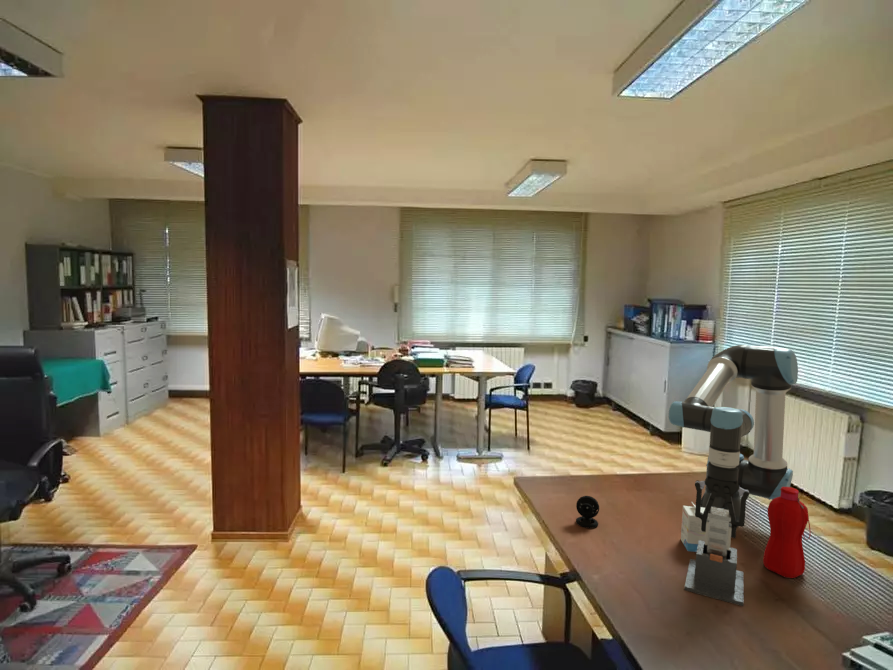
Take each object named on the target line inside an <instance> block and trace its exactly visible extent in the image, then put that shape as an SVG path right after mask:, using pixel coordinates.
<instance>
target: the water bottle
mask: <svg viewBox="0 0 893 670" xmlns="http://www.w3.org/2000/svg"><path fill="white" fill-rule="evenodd" d="M779 490H781V496H780V497H777V498H775V499H773V500H771V501H770V502H769V504H768V506H767V517H768V523H769V529H770V534H769V537H768V541H767V543H766V545H765V547H764V550H763V551H764V553H763V559H762V562H763V566H764V567H765V568H766V569H767V570H769V571H771V572H773V573H775V574H777V575H779V576H782V577H784V578H789V579H794V578H798V577H799V576H803V574H804V572H805V569H806V559H805V552H804V547H803V538H804V540H806V541H807V540H809V539H810V538H811V534H812V533H811V532H812V531H811V523H810V520H809V519H810V516H809V511H808V510H809V509H808V507H807V506H806V504H804V503H803V502H802V501H801V500H800V497H799V493H800V492H799V490H798V489H797V488H794V487H791V486H790V487H781V489H779ZM807 526H808V529H809V535H808V536H809V537H808V538H806V536H805V530H806V527H807Z"/></svg>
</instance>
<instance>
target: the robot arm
mask: <svg viewBox="0 0 893 670" xmlns="http://www.w3.org/2000/svg"><path fill="white" fill-rule="evenodd" d="M798 364H799V363H798V358H797V356H796V353H795V352H794V351H793V350H792V349H791V348H785V347H783V348H782V347H780V346H764V345H749V344H737V345H733V346H729V347H726V348H725V349H723V350H721V351H719V352H718V353H717V354H715V355H714V356H713V357H711V358H710V360H709V361H708V363H707V367H706V371H705V373H703V375H702V376H701V378H699V379H700V380H699V381H698V382H697V383H696V385H695V386H694V388H693V389H692V391H690V393H689V394H688V396H687V398H686V399H685V400H684V401H677V400H676V401H673V402H672V403H671V404H670V406H669V409H668V420H669V422H670V424H672V425H673V426H676V427H677V426H678V427H681V428H685V429H691V430H696V431H702V432H707V433H709V446H708V455H707V463H706V471H705V472H706V474H705V480H701V481H700V480H696V481H695V482H694V487H695V490H696V496H695V497H696V498H695V499H696V500H695V505H696V508H695V516H696V517H698V518H700V519H701V520H702V525H701V530H702V531H703V532H706V533H705V545H707V544H708V530H709V519H707V518H708V511H710V510H711V507H716V508H721V509H726V510H729V515H731V522H729V529H728V543H727V550H730V547H731V542H732V541H731V539H736V538H737V537H736V536H737V528H738V527H739V528H742V527H743V528H744V527H745V520H746V507H747V499H749V496H750V495H752V496H755V497H760V498H762V499H763V498H764V499H768V500H771V501H772V500H773V499H775V498H777V497H780V496H781V490H779V489H781V487H791V484H792V480H793V474H794V470H792V469H791V468H788V462H787V460H786V459H784V458H783V457H784V456H783V453H784V452H783V451H784V436H785V435H784V431H785V430H784V429H785V412H786V411H785V410H786V393H787V392H789V391H790V390H791V389H792V385H796V384H797V382H798V379H799V377H798V376H799V375H798V374H799V366H798ZM735 379H746V380H750V386H751V387H752V388H753V389H754V391H755V403H754V404H755V405H754V406H755V410H754V417H753V416H752V414H751V413H750V412H749V411H747V410H746V409H743V408H734V407H729V406H728V407H727V406H716V407H715V404H716V402H717V400H718V399H719V398H720V396H721V395H722V393H723V392H724V390H725V388H726V387H727V385H728V384H729V383H730V382H733V381H734V380H735ZM753 429H754V434H753V435H754V436H753V437H754V438H753V454H751V455H749V457H748V459H745V456H744V454H742V453H741V442H742V437H745V436H747V435H748V434H749V433H750V432H751V431H752V430H753ZM704 488H705V489H704ZM703 490H704V493H702V492H703ZM702 494H703V495H702ZM701 507H703V508H705V510H704V513H701V512H700V510H701Z"/></svg>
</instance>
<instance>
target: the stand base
mask: <svg viewBox="0 0 893 670" xmlns="http://www.w3.org/2000/svg"><path fill="white" fill-rule="evenodd" d="M737 558H738V549H737V548H735V547H731V546H730V550H727V556H726V559H725V558H723V557H722V556H718V555H714V554H710V555H708V554H707V545H705V541H701V540H699V542H698V547H697V552H695V559H694V558H689V561H688V562H689V563H688V567H687V573H686V578H685V583H684V589H683V590H684V591H687V592H691V593H693V594H697V595H701V596H705V597H709V598H712V599H715V600H720V601H723V602H727V603H730V604H733V605H738V606H741V607H744V602H745V601H744V593H745V592H744V571H741V570H737V566H738V559H737Z"/></svg>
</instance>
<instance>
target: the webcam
mask: <svg viewBox="0 0 893 670" xmlns="http://www.w3.org/2000/svg"><path fill="white" fill-rule="evenodd" d="M575 507H576V511H577V512H578V514H579V515H580V516H579V517H576V519H575V523H576V525H578V526H579V527H581V528H584V529H595V528H597V527H598V526H599V522H598V520H597V519H595V517H596V516H598V514H599V512H600V505H599V502H598V501H597V499H596V498H594V497H592V496H591V495H584V496H583V495H582V496H581V497H579V498H578V499H577V501H576V505H575Z"/></svg>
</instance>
